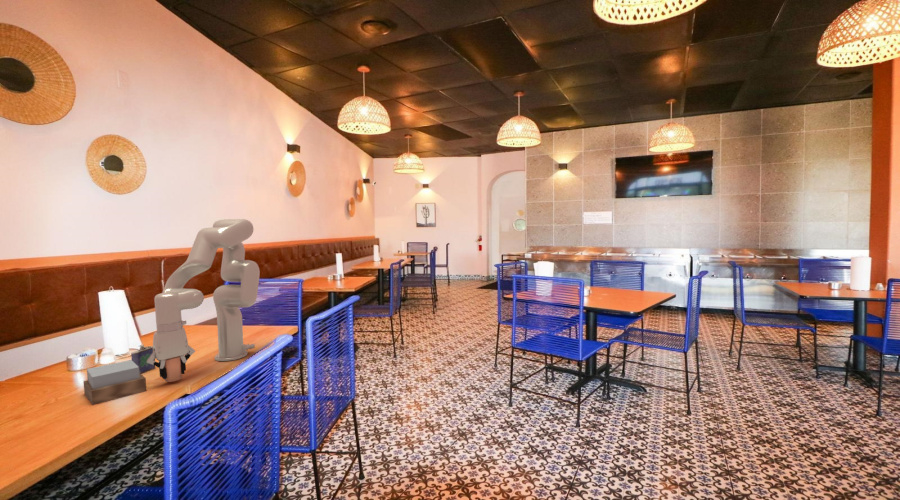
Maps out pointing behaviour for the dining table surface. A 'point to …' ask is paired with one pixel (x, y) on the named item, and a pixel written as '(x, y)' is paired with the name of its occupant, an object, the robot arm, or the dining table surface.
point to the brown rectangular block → (173, 369)
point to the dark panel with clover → (143, 358)
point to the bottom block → (114, 390)
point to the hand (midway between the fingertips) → (173, 375)
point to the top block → (112, 374)
